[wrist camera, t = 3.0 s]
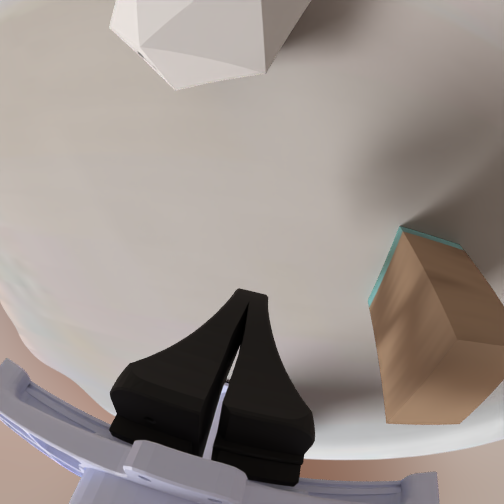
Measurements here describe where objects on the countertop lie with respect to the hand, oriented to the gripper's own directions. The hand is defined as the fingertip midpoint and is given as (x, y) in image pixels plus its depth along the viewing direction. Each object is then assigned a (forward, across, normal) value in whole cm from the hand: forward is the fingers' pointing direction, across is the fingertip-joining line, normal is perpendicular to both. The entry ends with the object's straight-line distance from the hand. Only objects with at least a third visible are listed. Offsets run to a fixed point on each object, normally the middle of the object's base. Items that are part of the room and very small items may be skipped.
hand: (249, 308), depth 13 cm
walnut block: (+7, -10, 0) cm, 12 cm away
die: (+7, +5, -13) cm, 16 cm away
